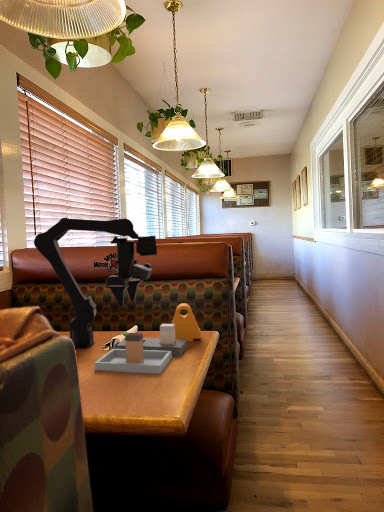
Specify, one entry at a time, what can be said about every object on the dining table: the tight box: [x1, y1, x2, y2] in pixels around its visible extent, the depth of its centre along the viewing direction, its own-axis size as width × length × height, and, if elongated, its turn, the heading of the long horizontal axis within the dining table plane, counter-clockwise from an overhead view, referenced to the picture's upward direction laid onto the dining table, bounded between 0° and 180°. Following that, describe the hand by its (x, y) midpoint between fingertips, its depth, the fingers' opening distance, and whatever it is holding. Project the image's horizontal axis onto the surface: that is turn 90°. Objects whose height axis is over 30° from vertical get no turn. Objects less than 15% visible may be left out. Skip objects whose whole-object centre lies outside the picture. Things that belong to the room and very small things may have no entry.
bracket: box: [171, 302, 202, 342], centre depth 127 cm, size 11×7×12 cm, turn 92°
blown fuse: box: [124, 332, 144, 364], centre depth 102 cm, size 4×3×8 cm
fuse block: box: [115, 337, 188, 357], centre depth 115 cm, size 20×9×2 cm, turn 79°
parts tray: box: [94, 348, 173, 375], centre depth 102 cm, size 18×12×2 cm, turn 79°
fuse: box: [159, 323, 175, 345], centre depth 114 cm, size 4×3×8 cm
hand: (127, 303), depth 123 cm, fingers open, 9 cm apart
